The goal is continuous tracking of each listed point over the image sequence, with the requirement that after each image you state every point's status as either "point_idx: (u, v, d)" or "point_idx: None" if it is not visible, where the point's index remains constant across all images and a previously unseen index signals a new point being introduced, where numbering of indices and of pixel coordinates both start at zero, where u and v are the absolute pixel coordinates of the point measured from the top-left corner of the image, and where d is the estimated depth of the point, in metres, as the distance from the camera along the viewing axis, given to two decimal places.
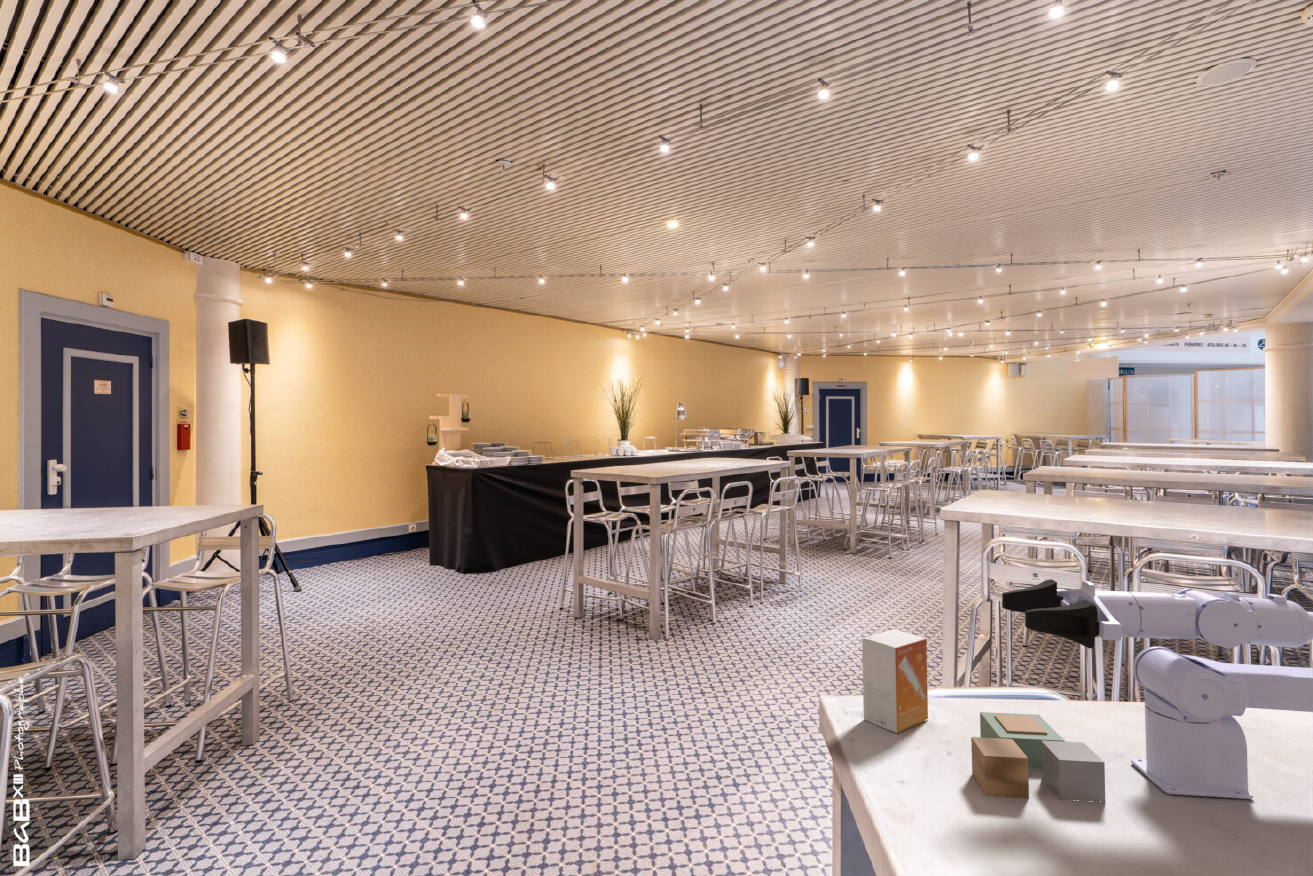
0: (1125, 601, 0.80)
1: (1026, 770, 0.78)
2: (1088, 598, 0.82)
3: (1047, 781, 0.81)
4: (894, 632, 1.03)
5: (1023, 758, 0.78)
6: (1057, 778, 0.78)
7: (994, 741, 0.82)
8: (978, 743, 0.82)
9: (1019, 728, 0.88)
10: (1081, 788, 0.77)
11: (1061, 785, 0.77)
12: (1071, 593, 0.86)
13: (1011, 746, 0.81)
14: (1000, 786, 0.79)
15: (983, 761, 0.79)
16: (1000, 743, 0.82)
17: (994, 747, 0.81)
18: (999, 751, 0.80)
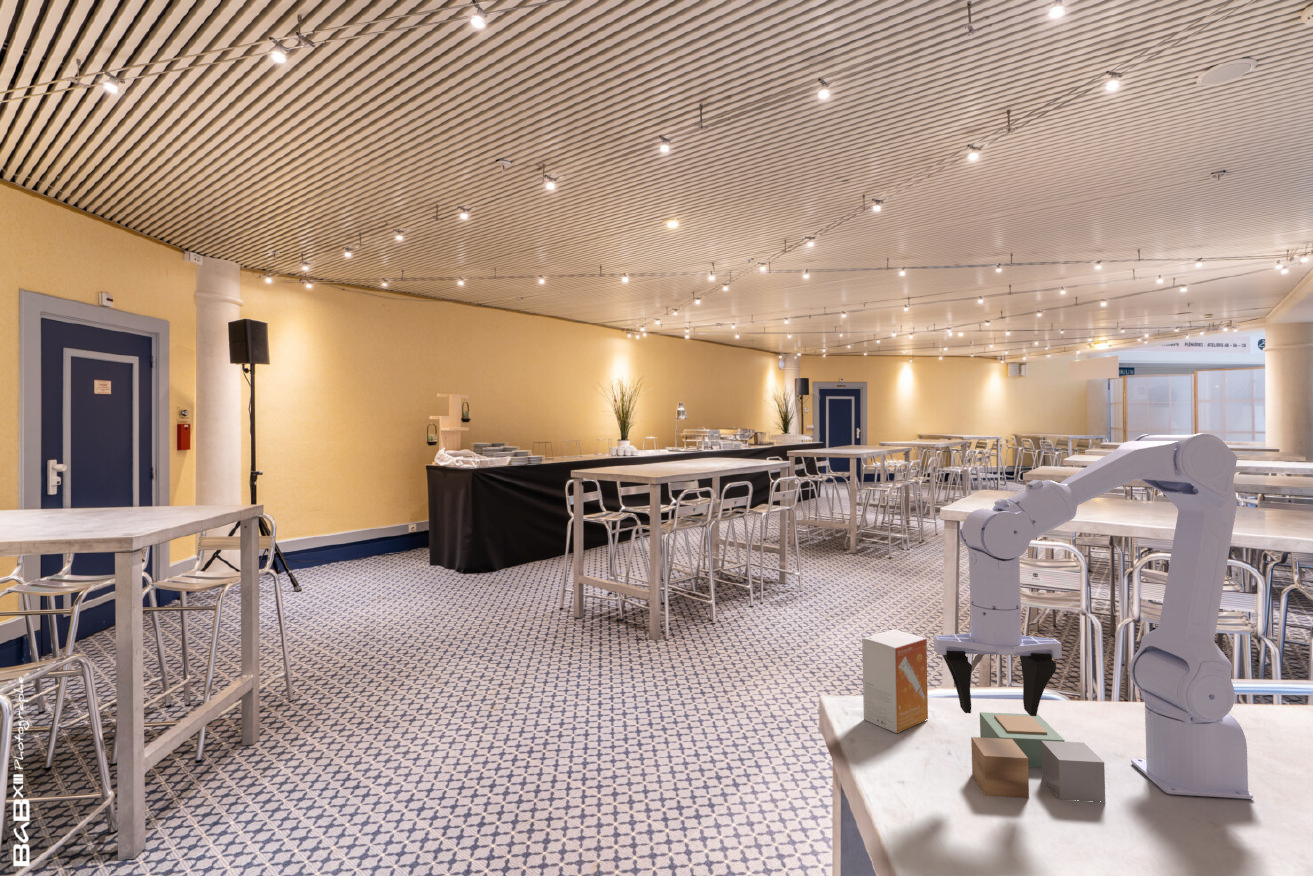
0: (1017, 619, 0.79)
1: (1026, 770, 0.78)
2: None
3: (1047, 781, 0.81)
4: (894, 632, 1.03)
5: (1023, 758, 0.78)
6: (1057, 778, 0.78)
7: (994, 741, 0.82)
8: (978, 743, 0.82)
9: (1019, 728, 0.88)
10: (1081, 788, 0.77)
11: (1061, 785, 0.77)
12: None
13: (1011, 746, 0.81)
14: (1000, 786, 0.79)
15: (983, 761, 0.79)
16: (1000, 743, 0.82)
17: (994, 747, 0.81)
18: (999, 751, 0.80)
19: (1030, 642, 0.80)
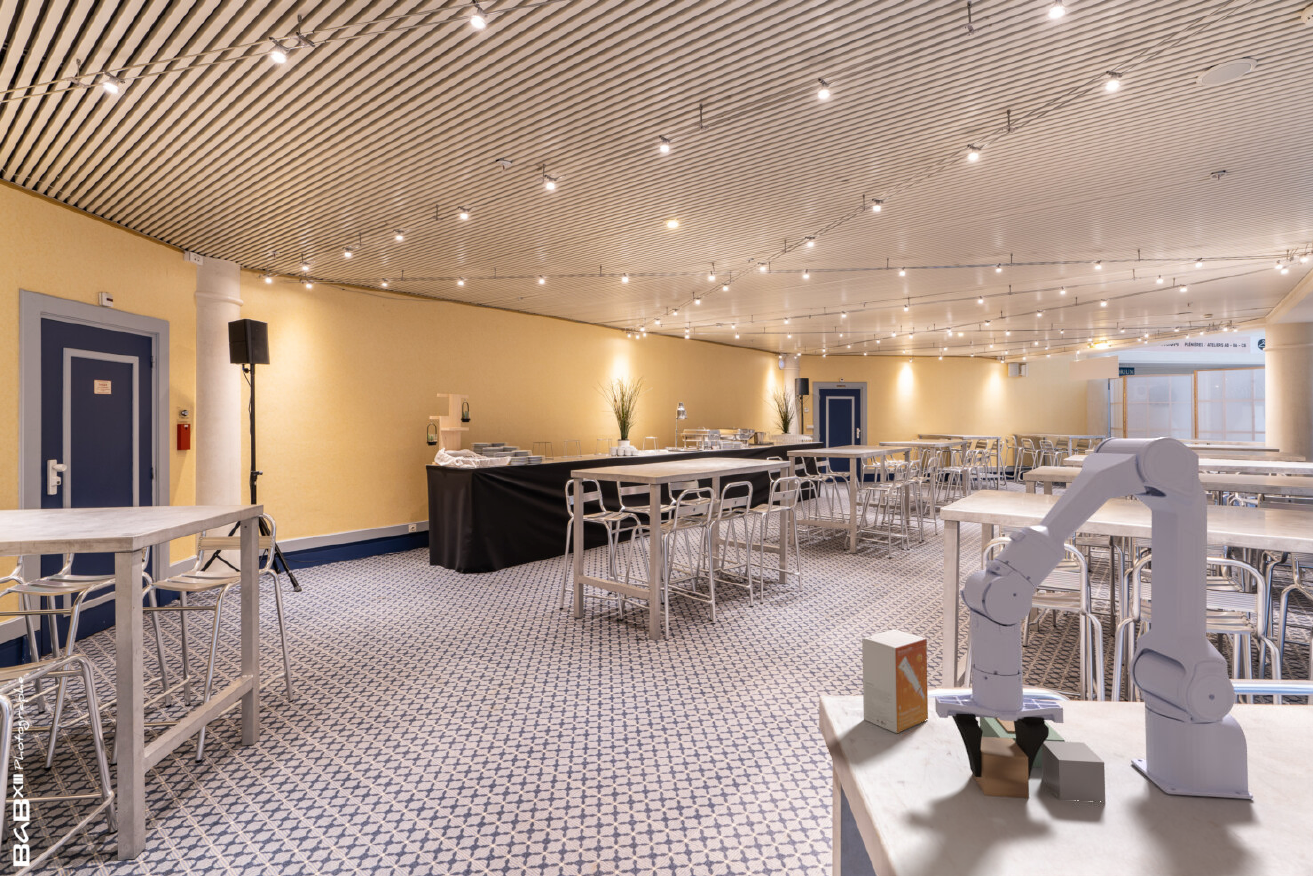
0: (1018, 684, 0.79)
1: (1026, 769, 0.78)
2: None
3: (1047, 781, 0.81)
4: (894, 632, 1.03)
5: (1023, 757, 0.78)
6: (1057, 778, 0.78)
7: (994, 741, 0.82)
8: None
9: None
10: (1081, 788, 0.77)
11: (1060, 785, 0.77)
12: None
13: (1011, 745, 0.81)
14: (1000, 785, 0.79)
15: (983, 760, 0.79)
16: (1000, 742, 0.82)
17: (994, 746, 0.81)
18: (999, 750, 0.80)
19: (1032, 706, 0.80)
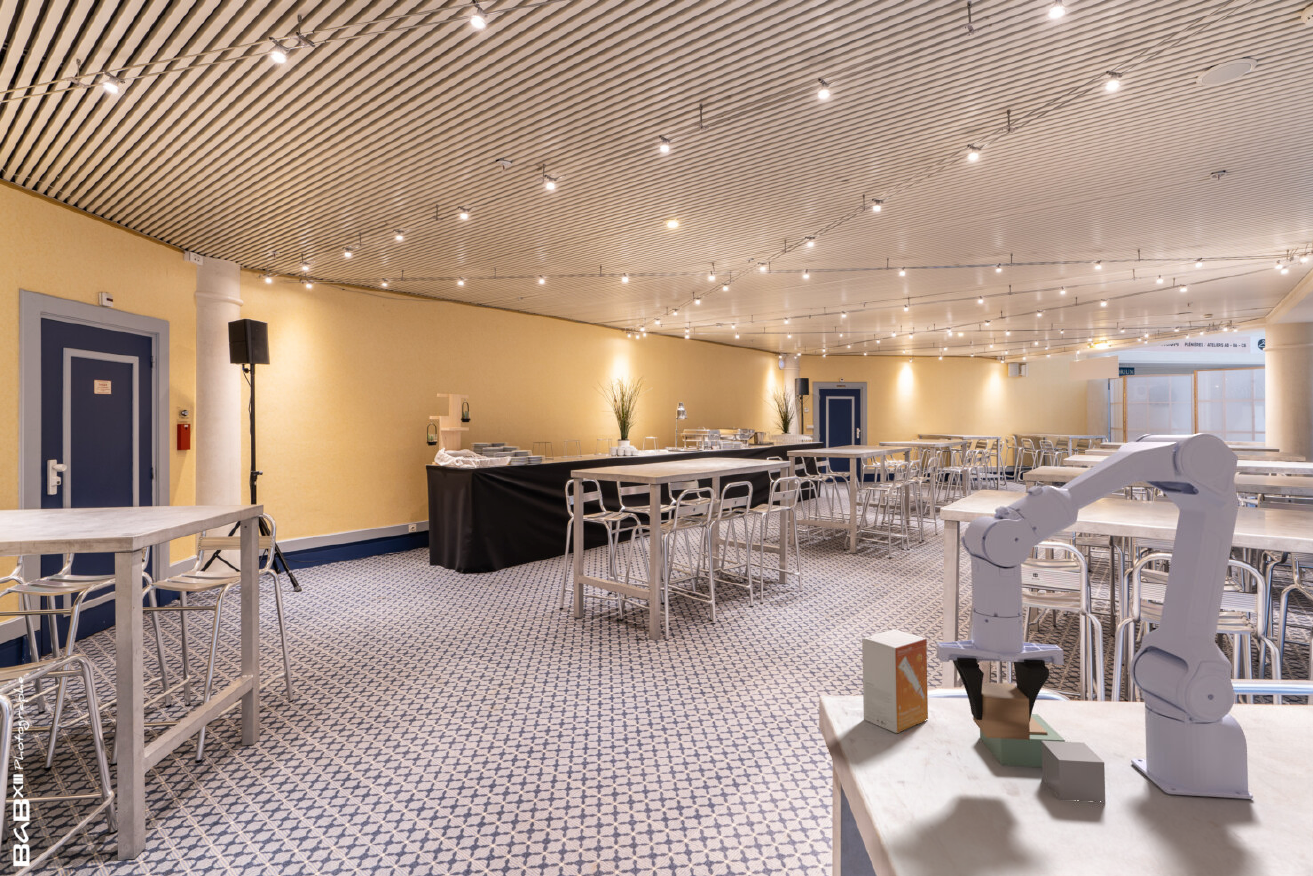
0: (1019, 626, 0.79)
1: (1026, 711, 0.79)
2: None
3: (1047, 781, 0.81)
4: (894, 632, 1.03)
5: (1024, 699, 0.79)
6: (1057, 778, 0.78)
7: (995, 686, 0.83)
8: None
9: None
10: (1081, 788, 0.77)
11: (1060, 785, 0.77)
12: None
13: (1012, 689, 0.82)
14: (1001, 727, 0.79)
15: (984, 703, 0.80)
16: (1001, 687, 0.83)
17: (995, 690, 0.82)
18: (1000, 694, 0.80)
19: (1032, 649, 0.81)
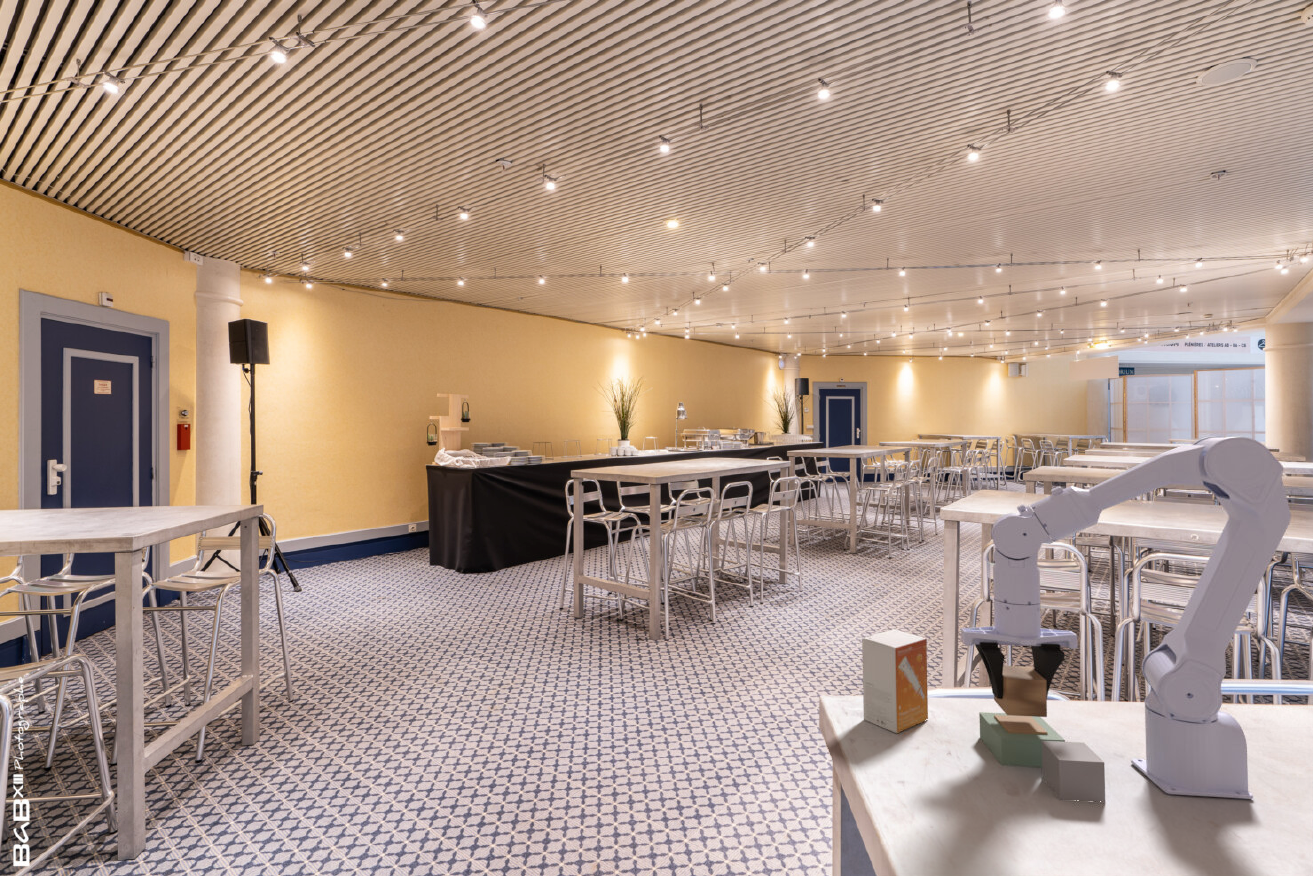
0: (1037, 613, 0.87)
1: (1044, 691, 0.86)
2: None
3: (1047, 781, 0.81)
4: (894, 632, 1.03)
5: (1042, 680, 0.86)
6: (1057, 778, 0.78)
7: (1014, 668, 0.91)
8: None
9: (1019, 728, 0.88)
10: (1081, 788, 0.77)
11: (1060, 785, 0.77)
12: None
13: (1030, 672, 0.89)
14: (1021, 705, 0.87)
15: (1005, 684, 0.88)
16: (1020, 669, 0.90)
17: (1014, 672, 0.89)
18: (1020, 675, 0.88)
19: (1049, 634, 0.89)
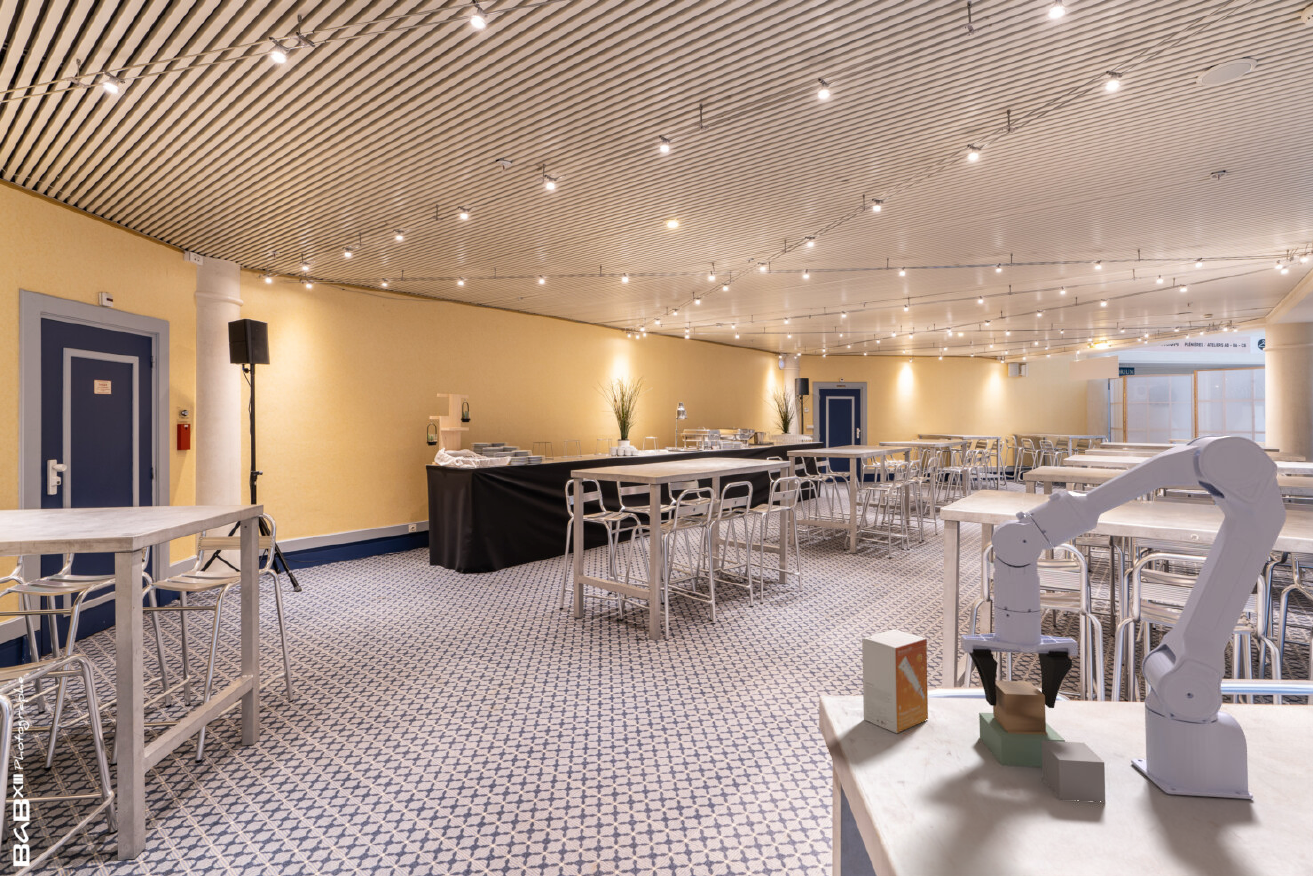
0: (1037, 620, 0.87)
1: (1043, 706, 0.87)
2: None
3: (1047, 781, 0.81)
4: (894, 632, 1.03)
5: (1040, 695, 0.87)
6: (1057, 778, 0.78)
7: (1013, 683, 0.91)
8: (998, 684, 0.91)
9: None
10: (1081, 788, 0.77)
11: (1061, 785, 0.77)
12: None
13: (1029, 686, 0.90)
14: (1020, 721, 0.87)
15: (1004, 699, 0.88)
16: (1018, 684, 0.90)
17: (1013, 687, 0.89)
18: (1018, 690, 0.88)
19: (1049, 641, 0.89)
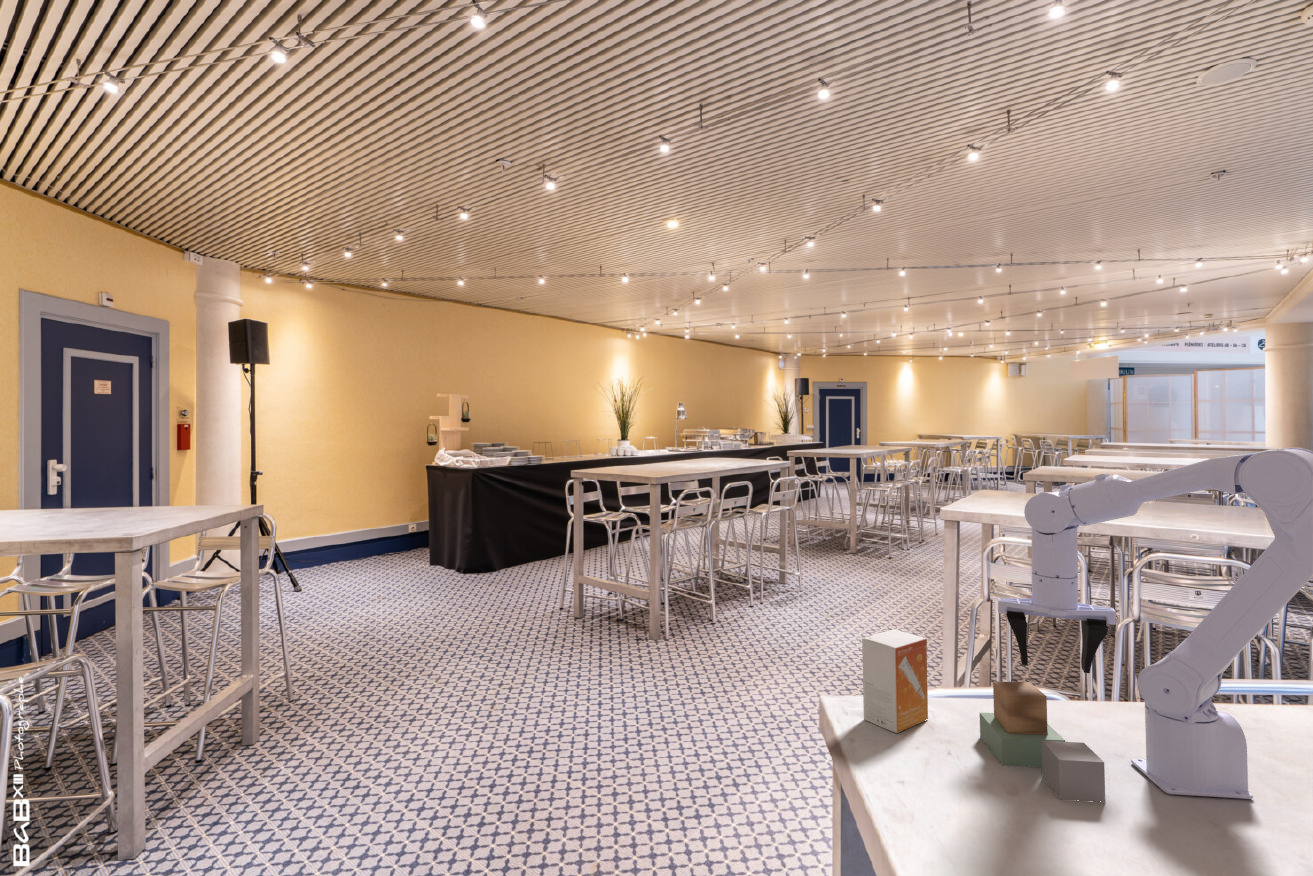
0: (1071, 587, 0.90)
1: (1044, 707, 0.86)
2: None
3: (1047, 781, 0.81)
4: (894, 632, 1.03)
5: (1042, 696, 0.86)
6: (1057, 778, 0.78)
7: (1014, 684, 0.91)
8: (1000, 685, 0.90)
9: None
10: (1081, 788, 0.77)
11: (1060, 785, 0.77)
12: None
13: (1030, 687, 0.89)
14: (1021, 722, 0.87)
15: (1006, 700, 0.87)
16: (1019, 685, 0.90)
17: (1014, 688, 0.89)
18: (1020, 691, 0.88)
19: (1087, 609, 0.91)
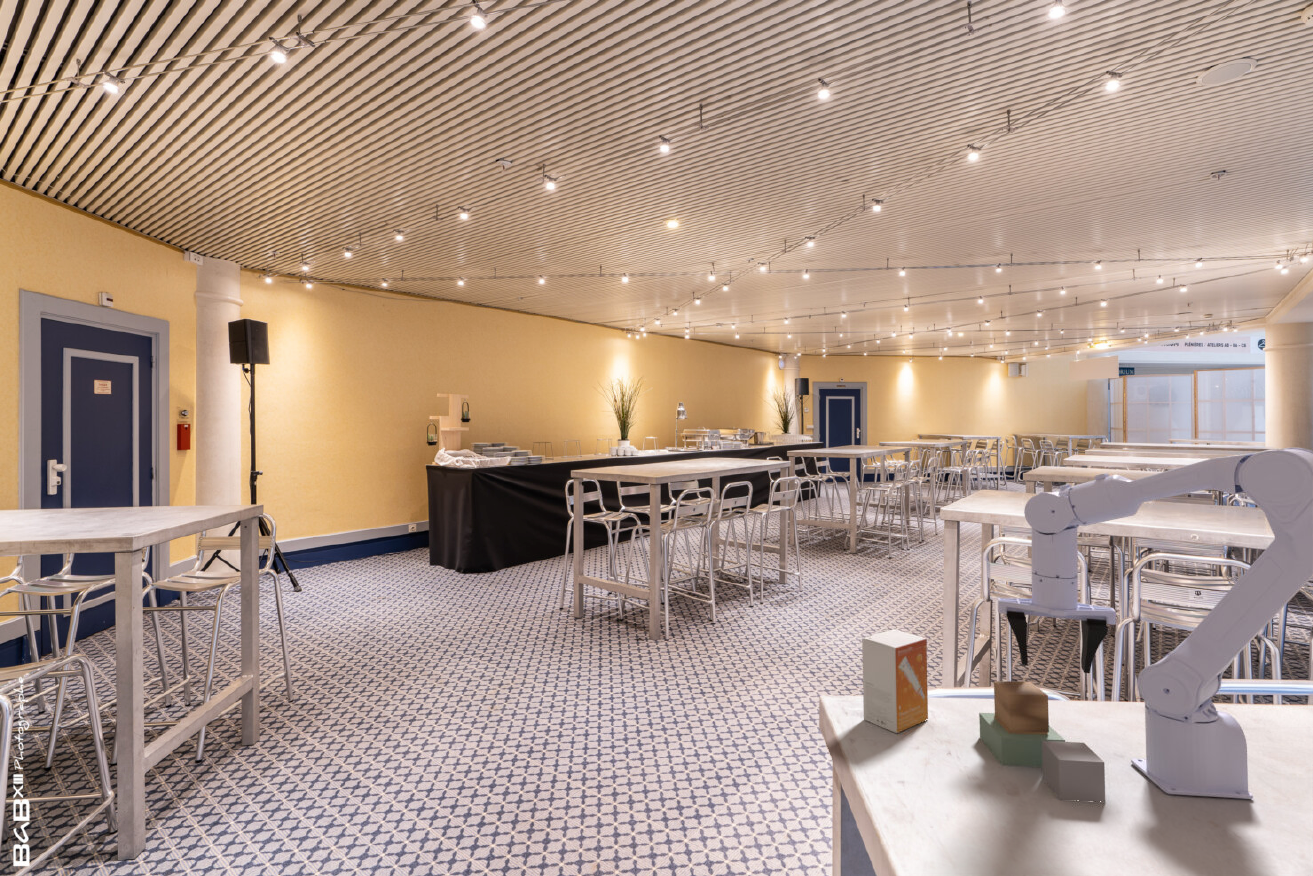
0: (1071, 587, 0.90)
1: (1046, 707, 0.87)
2: None
3: (1047, 781, 0.81)
4: (894, 632, 1.03)
5: (1043, 695, 0.87)
6: (1057, 778, 0.78)
7: (1015, 684, 0.91)
8: (1001, 685, 0.90)
9: None
10: (1081, 788, 0.77)
11: (1060, 785, 0.77)
12: None
13: (1031, 687, 0.90)
14: (1023, 721, 0.87)
15: (1007, 700, 0.88)
16: (1020, 685, 0.90)
17: (1016, 688, 0.89)
18: (1021, 691, 0.88)
19: (1087, 609, 0.91)
